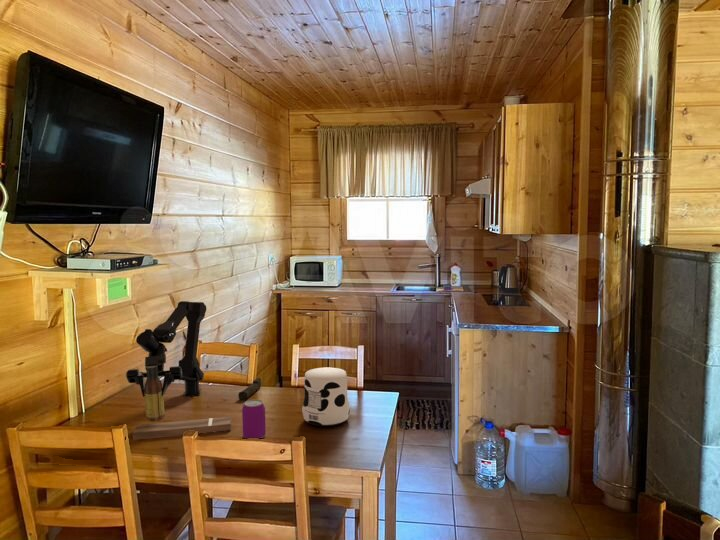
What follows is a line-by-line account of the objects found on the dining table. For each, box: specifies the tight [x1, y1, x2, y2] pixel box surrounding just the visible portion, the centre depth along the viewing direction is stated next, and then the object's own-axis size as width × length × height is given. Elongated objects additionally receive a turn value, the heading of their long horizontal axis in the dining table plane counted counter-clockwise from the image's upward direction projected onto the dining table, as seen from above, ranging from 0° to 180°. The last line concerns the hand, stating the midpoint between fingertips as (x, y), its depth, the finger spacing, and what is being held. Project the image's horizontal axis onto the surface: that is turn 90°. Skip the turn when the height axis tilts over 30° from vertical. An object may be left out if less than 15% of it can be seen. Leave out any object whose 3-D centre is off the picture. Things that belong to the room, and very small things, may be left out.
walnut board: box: [132, 416, 232, 441], centre depth 182 cm, size 7×32×3 cm, turn 103°
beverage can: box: [241, 398, 267, 439], centre depth 177 cm, size 8×8×12 cm
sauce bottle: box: [144, 365, 165, 423], centre depth 187 cm, size 6×6×20 cm
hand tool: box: [237, 377, 262, 401], centre depth 222 cm, size 19×4×5 cm, turn 165°
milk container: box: [301, 366, 351, 427], centre depth 190 cm, size 17×17×18 cm
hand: (153, 395), depth 186 cm, fingers closed on sauce bottle, 6 cm apart
